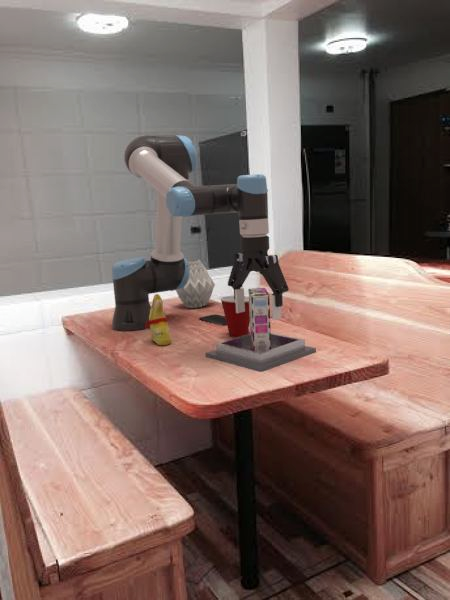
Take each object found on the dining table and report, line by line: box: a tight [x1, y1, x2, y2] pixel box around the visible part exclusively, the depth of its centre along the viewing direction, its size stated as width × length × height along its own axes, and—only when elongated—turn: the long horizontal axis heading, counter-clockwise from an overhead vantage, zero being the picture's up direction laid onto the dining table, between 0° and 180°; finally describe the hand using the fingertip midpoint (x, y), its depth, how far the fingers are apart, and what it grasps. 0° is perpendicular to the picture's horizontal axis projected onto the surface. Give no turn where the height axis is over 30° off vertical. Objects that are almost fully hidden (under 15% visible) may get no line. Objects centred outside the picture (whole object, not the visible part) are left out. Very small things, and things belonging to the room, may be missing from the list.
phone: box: [198, 313, 227, 327], centre depth 187 cm, size 8×1×15 cm
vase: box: [175, 259, 216, 309], centre depth 214 cm, size 16×16×18 cm
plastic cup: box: [219, 295, 250, 338], centre depth 165 cm, size 11×11×12 cm
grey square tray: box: [205, 332, 317, 372], centre depth 144 cm, size 21×21×4 cm
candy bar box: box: [247, 287, 272, 353], centre depth 143 cm, size 11×5×16 cm, turn 2°
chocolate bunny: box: [145, 293, 172, 346], centre depth 162 cm, size 7×11×15 cm, turn 25°
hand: (258, 315), depth 143 cm, fingers open, 13 cm apart
